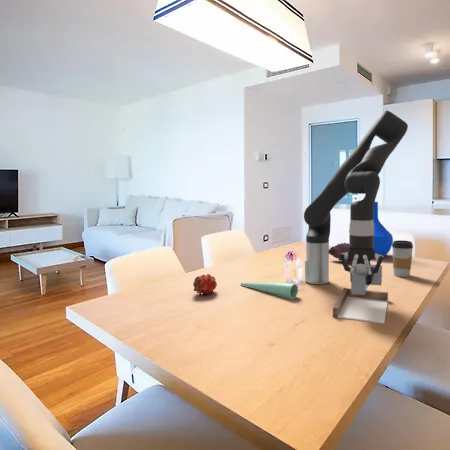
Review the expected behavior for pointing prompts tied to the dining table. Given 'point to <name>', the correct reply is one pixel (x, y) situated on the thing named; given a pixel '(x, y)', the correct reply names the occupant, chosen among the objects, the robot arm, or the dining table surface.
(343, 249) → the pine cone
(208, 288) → the dragon fruit
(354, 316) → the mat
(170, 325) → the dining table surface
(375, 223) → the vase
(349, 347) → the dining table surface
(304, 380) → the dining table surface
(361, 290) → the bracket
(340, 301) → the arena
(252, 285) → the mint green cone
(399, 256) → the coffee cup
